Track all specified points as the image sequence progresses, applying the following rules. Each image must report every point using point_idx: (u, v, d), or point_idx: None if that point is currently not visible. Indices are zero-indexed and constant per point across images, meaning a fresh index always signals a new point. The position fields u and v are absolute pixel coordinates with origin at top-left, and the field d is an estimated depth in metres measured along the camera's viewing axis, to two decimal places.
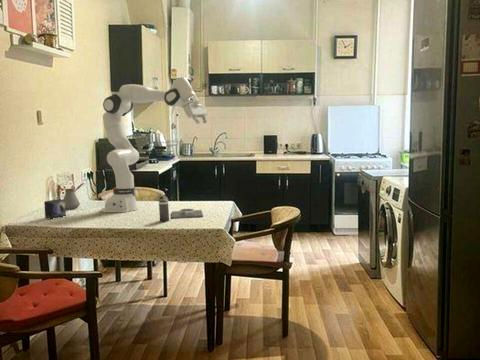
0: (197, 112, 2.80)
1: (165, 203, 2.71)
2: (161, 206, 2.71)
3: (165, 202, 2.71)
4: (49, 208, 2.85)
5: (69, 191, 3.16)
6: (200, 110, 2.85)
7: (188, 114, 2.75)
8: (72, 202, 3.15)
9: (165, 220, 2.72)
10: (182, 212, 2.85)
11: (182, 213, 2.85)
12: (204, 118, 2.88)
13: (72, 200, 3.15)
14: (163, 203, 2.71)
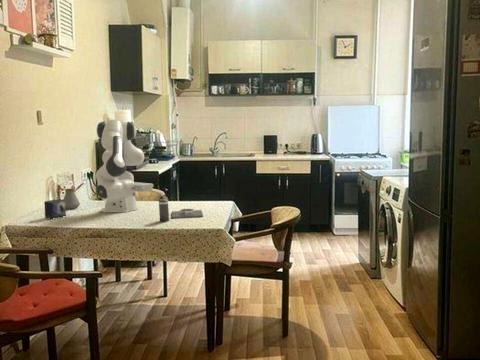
0: None
1: (165, 203, 2.71)
2: (161, 206, 2.71)
3: (165, 202, 2.71)
4: (49, 208, 2.85)
5: (69, 191, 3.16)
6: None
7: None
8: (72, 202, 3.15)
9: (165, 220, 2.72)
10: (182, 212, 2.85)
11: (182, 213, 2.85)
12: None
13: (72, 200, 3.15)
14: (163, 203, 2.71)
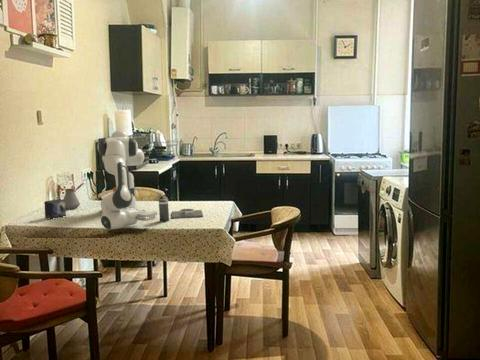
0: None
1: (165, 203, 2.71)
2: (161, 206, 2.71)
3: (165, 202, 2.71)
4: (49, 208, 2.85)
5: (69, 191, 3.16)
6: None
7: None
8: (72, 202, 3.15)
9: (165, 220, 2.72)
10: (182, 212, 2.85)
11: (182, 213, 2.85)
12: None
13: (72, 200, 3.15)
14: (163, 203, 2.71)
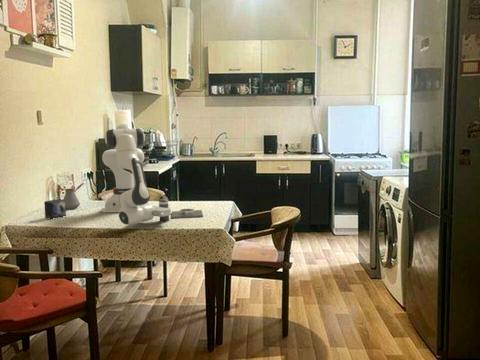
0: None
1: (165, 203, 2.71)
2: (161, 206, 2.71)
3: (165, 202, 2.71)
4: (49, 208, 2.85)
5: (69, 191, 3.16)
6: None
7: None
8: (72, 202, 3.15)
9: (165, 220, 2.72)
10: (182, 212, 2.85)
11: (182, 213, 2.85)
12: None
13: (72, 200, 3.15)
14: (163, 203, 2.71)
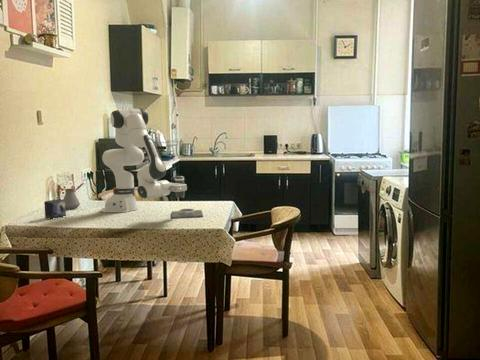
0: None
1: (181, 179, 2.80)
2: (177, 182, 2.80)
3: (181, 178, 2.80)
4: (49, 208, 2.85)
5: (69, 191, 3.16)
6: None
7: None
8: (72, 202, 3.15)
9: (181, 196, 2.81)
10: (182, 212, 2.85)
11: (182, 213, 2.85)
12: None
13: (72, 200, 3.15)
14: (179, 179, 2.80)
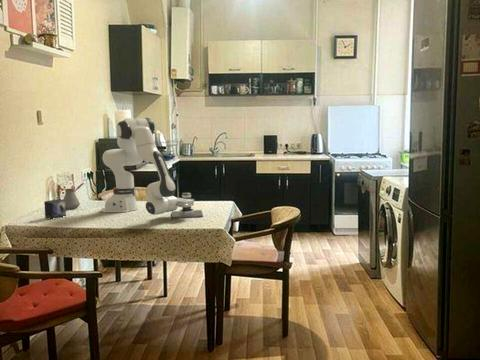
0: None
1: (188, 196, 2.86)
2: None
3: (188, 195, 2.86)
4: (49, 208, 2.85)
5: (69, 191, 3.16)
6: None
7: None
8: (72, 202, 3.15)
9: None
10: (182, 212, 2.85)
11: (182, 213, 2.85)
12: None
13: (72, 200, 3.15)
14: (186, 196, 2.85)
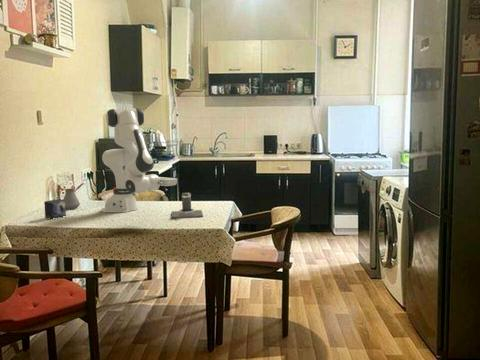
0: None
1: (188, 196, 2.85)
2: (184, 199, 2.85)
3: (188, 195, 2.85)
4: (49, 208, 2.85)
5: (69, 191, 3.16)
6: None
7: None
8: (72, 202, 3.15)
9: None
10: (182, 212, 2.85)
11: (182, 213, 2.85)
12: None
13: (72, 200, 3.15)
14: (186, 196, 2.85)
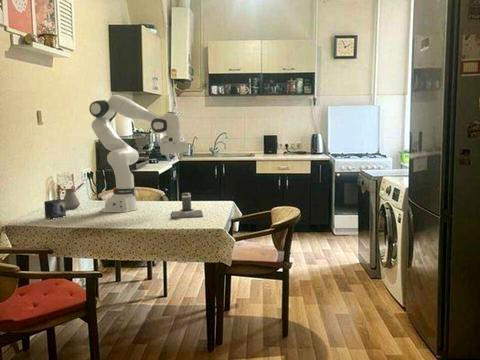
0: (172, 151, 2.97)
1: (188, 196, 2.85)
2: (184, 199, 2.85)
3: (188, 195, 2.85)
4: (49, 208, 2.85)
5: (69, 191, 3.16)
6: (178, 148, 3.01)
7: (161, 151, 2.93)
8: (72, 202, 3.15)
9: None
10: (182, 212, 2.85)
11: (182, 213, 2.85)
12: (181, 155, 3.05)
13: (72, 200, 3.15)
14: (186, 196, 2.85)
